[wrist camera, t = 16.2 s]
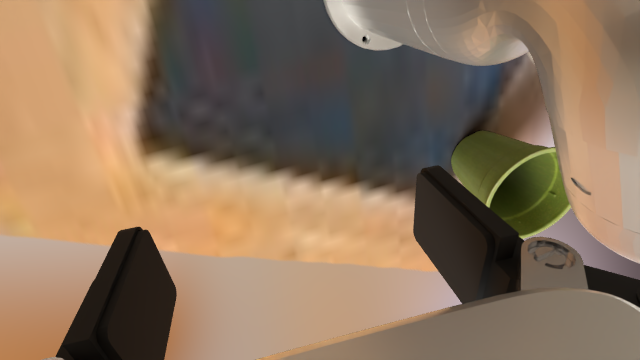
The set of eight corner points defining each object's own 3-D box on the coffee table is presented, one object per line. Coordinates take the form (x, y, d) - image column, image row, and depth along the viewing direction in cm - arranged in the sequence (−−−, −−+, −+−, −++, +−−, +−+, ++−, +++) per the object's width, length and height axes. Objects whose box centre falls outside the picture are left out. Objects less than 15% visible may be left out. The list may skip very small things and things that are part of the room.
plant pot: (523, 106, 43) (603, 140, 33) (502, 183, 49) (565, 230, 39) (439, 118, 41) (499, 157, 32) (429, 196, 47) (476, 248, 38)
